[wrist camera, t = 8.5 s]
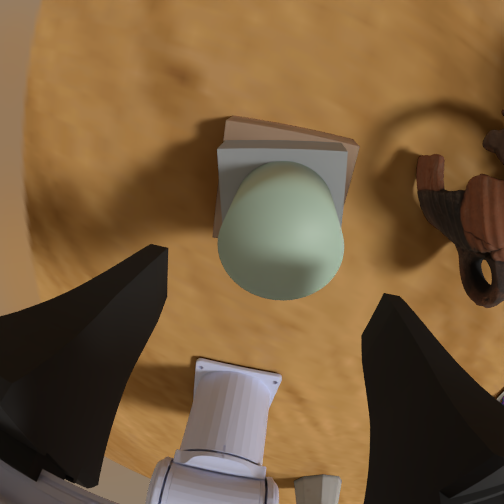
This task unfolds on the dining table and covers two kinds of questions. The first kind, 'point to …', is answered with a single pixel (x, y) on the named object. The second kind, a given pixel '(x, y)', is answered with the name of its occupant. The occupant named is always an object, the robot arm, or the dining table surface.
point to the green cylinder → (281, 233)
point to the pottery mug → (469, 220)
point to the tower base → (276, 131)
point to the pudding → (501, 398)
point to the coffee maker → (317, 489)
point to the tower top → (265, 151)
